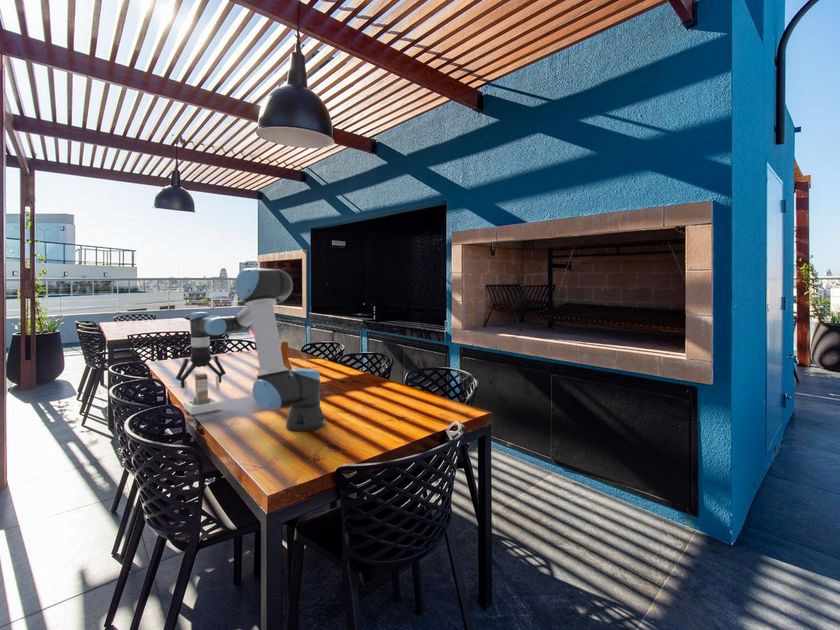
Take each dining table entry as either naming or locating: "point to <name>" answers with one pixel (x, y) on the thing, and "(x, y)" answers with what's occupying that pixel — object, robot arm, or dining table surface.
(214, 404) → the white square frame
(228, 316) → the robot arm
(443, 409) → the dining table surface
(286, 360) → the wine bottle
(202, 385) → the wood grain beam
